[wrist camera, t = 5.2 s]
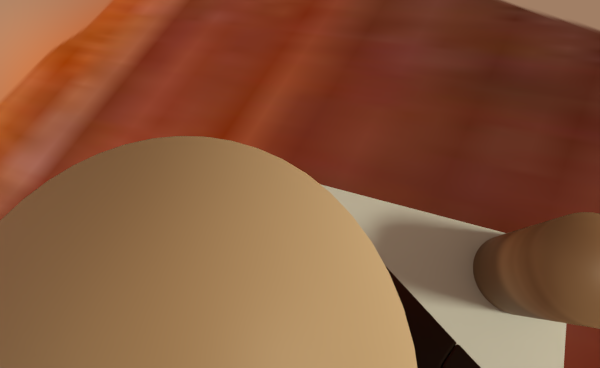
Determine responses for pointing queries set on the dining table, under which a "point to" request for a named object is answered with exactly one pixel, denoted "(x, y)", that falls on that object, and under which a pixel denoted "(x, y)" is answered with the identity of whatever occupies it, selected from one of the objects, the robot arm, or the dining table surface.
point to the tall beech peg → (193, 267)
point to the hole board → (454, 283)
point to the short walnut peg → (545, 270)
